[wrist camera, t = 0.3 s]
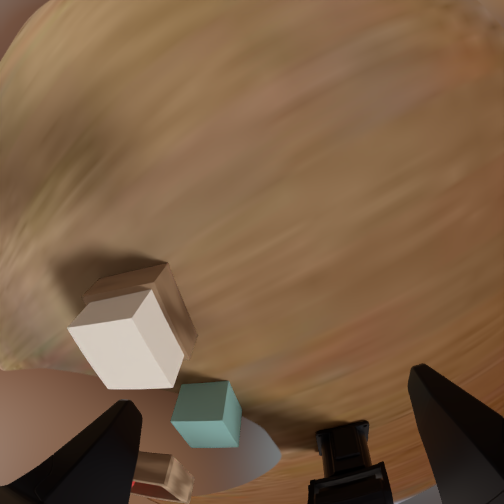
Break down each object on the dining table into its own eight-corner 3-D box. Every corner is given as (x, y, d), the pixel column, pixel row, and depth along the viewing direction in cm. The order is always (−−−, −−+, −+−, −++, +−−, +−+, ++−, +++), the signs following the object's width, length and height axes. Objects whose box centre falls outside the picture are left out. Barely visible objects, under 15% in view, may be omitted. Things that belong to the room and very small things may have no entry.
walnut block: (198, 332, 24) (190, 359, 21) (133, 340, 25) (119, 364, 22) (169, 261, 22) (154, 282, 19) (101, 277, 23) (81, 296, 20)
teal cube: (242, 409, 28) (238, 447, 23) (199, 412, 28) (191, 447, 24) (228, 380, 26) (222, 420, 21) (181, 383, 27) (170, 421, 22)
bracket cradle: (194, 477, 37) (189, 503, 31) (121, 468, 39) (114, 489, 34) (171, 454, 33) (163, 484, 28) (95, 444, 35) (84, 467, 30)
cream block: (184, 355, 21) (173, 387, 18) (123, 360, 22) (108, 389, 19) (151, 289, 19) (131, 317, 16) (89, 302, 20) (67, 327, 16)
